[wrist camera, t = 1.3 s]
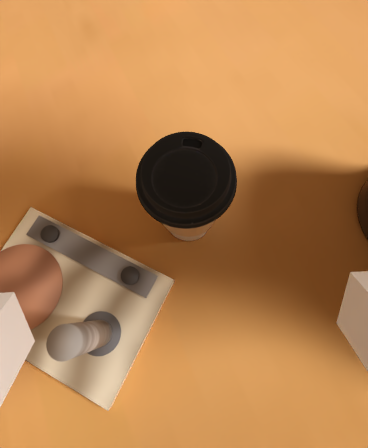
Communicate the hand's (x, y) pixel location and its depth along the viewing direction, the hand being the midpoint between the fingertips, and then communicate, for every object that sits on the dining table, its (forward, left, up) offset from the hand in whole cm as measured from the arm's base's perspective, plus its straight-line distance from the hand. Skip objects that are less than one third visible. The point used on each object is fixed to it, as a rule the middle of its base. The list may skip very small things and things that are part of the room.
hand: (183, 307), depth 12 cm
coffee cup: (+5, -10, -26) cm, 28 cm away
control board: (+14, +6, -25) cm, 30 cm away
